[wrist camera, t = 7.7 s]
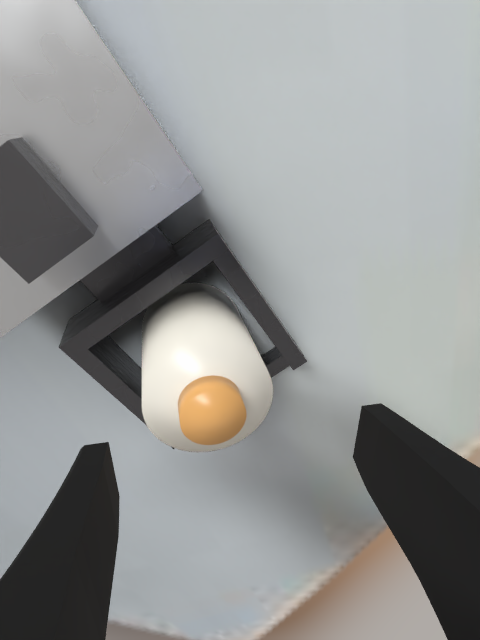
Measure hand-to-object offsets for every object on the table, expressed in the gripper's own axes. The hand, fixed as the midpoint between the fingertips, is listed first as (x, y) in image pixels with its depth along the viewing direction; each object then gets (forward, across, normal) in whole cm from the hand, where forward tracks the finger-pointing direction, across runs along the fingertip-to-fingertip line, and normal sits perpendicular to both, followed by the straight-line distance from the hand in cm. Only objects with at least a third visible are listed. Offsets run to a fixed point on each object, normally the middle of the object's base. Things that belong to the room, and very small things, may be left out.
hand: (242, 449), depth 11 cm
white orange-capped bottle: (+10, 0, +1) cm, 10 cm away
